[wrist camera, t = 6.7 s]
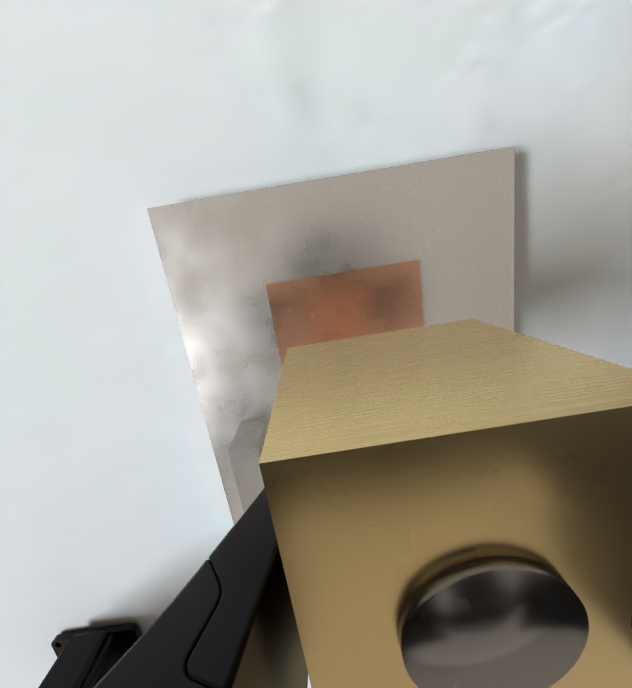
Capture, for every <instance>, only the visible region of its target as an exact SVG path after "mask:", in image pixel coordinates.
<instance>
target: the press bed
mask: <svg viewBox="0 0 632 688" xmlns="http://www.w3.org/2000/svg"><path fill="white" fill-rule="evenodd" d="M147 210H148V213H149V217H150V221H151V224H152V228H153V232H154V235H155V239H156V243H157V246H158V250H159V253H160V257H161V261H162V264H163V268H164V272H165V275H166V279H167V283H168V286H169V290H170V293H171V297H172V301H173V304H174V308H175V312H176V315H177V319H178V323H179V326H180V330H181V333H182V337H183V341H184V344H185V348H186V352H187V355H188V359H189V363H190V366H191V370H192V373H193V377H194V381H195V384H196V388H197V392H198V395H199V399H200V403H201V406H202V410H203V414H204V417H205V421H206V424H207V428H208V432H209V435H210V439H211V443H212V446H213V450H214V454H215V457H216V461H217V464H218V468H219V472H220V475H221V479H222V483H223V486H224V490H225V494H226V497H227V501H228V504H229V508H230V512H231V515H232V519H233V523H234V525H235V524H236V522H237V521H238V520H239V519H240V517H241V516H242V515H243V514H244V512H245V511H246V510H247V508H248V507H249V506H250V505H251V503H252V502H253V501H254V500H255V498H256V497H257V496H258V495H259V493H260V492H261V491H262V490H263V488H264V483H263V479H262V474H261V470H260V466H259V461H260V457H261V453H262V449H263V445H264V441H265V437H266V433H267V429H268V425H269V421H270V417H271V413H272V409H273V405H274V401H275V397H276V393H277V389H278V385H279V381H280V377H281V373H282V369H283V365H284V361H285V357H286V353H287V349H288V348H290V347H296V346H302V345H309V344H315V343H321V342H327V341H334V340H340V339H346V338H352V337H359V336H365V335H371V334H377V333H384V332H390V331H396V330H402V329H409V328H415V327H421V326H427V325H434V324H440V323H446V322H452V321H459V320H465V319H471V318H473V319H476V320H479V321H482V322H486V323H489V324H492V325H495V326H498V327H501V328H504V329H507V330H511V331H514V217H515V147H509V148H503V149H497V150H491V151H485V152H480V153H474V154H468V155H462V156H456V157H450V158H444V159H438V160H432V161H426V162H420V163H414V164H408V165H402V166H396V167H390V168H385V169H379V170H373V171H367V172H361V173H355V174H349V175H343V176H337V177H331V178H325V179H319V180H313V181H307V182H301V183H295V184H289V185H284V186H278V187H272V188H266V189H260V190H254V191H248V192H242V193H236V194H230V195H224V196H218V197H212V198H206V199H200V200H194V201H189V202H183V203H177V204H171V205H165V206H159V207H153V208H147Z"/></svg>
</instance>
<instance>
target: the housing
mask: <svg viewBox="0 0 632 688" xmlns="http://www.w3.org/2000/svg"><path fill="white" fill-rule="evenodd" d="M259 466H260V470H261V474H262V479H263V483H264V487H265V491H266V496H267V500H268V504H269V508H270V513H271V517H272V521H273V525H274V530H275V534H276V538H277V542H278V547H279V551H280V555H281V559H282V564H283V568H284V572H285V576H286V581H287V585H288V589H289V593H290V598H291V602H292V606H293V610H294V615H295V619H296V623H297V627H298V632H299V636H300V640H301V644H302V648H303V653H304V657H305V661H306V665H307V670H308V674H309V678H310V682H311V687H312V688H632V369H629V368H626V367H623V366H620V365H617V364H613V363H610V362H607V361H604V360H601V359H598V358H595V357H592V356H589V355H585V354H582V353H579V352H576V351H573V350H570V349H567V348H564V347H560V346H557V345H554V344H551V343H548V342H545V341H542V340H539V339H535V338H532V337H529V336H526V335H523V334H520V333H517V332H514V331H511V330H507V329H504V328H501V327H498V326H495V325H492V324H489V323H486V322H482V321H479V320H476V319H473V318H471V319H465V320H459V321H452V322H446V323H440V324H434V325H427V326H421V327H415V328H409V329H402V330H396V331H390V332H384V333H377V334H371V335H365V336H359V337H352V338H346V339H340V340H334V341H327V342H321V343H315V344H309V345H302V346H296V347H290V348H288V349H287V353H286V357H285V361H284V365H283V369H282V373H281V377H280V381H279V385H278V389H277V393H276V397H275V401H274V405H273V409H272V413H271V417H270V421H269V425H268V429H267V433H266V437H265V441H264V445H263V449H262V453H261V457H260V461H259Z"/></svg>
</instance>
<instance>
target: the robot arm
mask: <svg viewBox="0 0 632 688" xmlns="http://www.w3.org/2000/svg"><path fill="white" fill-rule="evenodd" d="M51 645H52V647H53V649H54V651H55V653H56V655H57V657H58V658H57V660H56V661H55V663H54V664H53V666H52V667H51V669H50V671H49V672H48V674H47V675H46V677H45V678H44V680H43V681H42V683H41V685H40V686H39V688H307V684H308V670H307V665H306V661H305V657H304V653H303V648H302V644H301V640H300V636H299V632H298V627H297V623H296V619H295V615H294V610H293V606H292V602H291V598H290V593H289V589H288V585H287V581H286V576H285V572H284V568H283V564H282V559H281V555H280V551H279V547H278V542H277V538H276V534H275V530H274V525H273V521H272V517H271V513H270V508H269V504H268V500H267V496H266V491H265V487H264V488H263V490H262V491H261V492H260V493H259V495H258V496H257V497H256V498H255V500H254V501H253V502H252V503H251V505H250V506H249V507H248V508H247V510H246V511H245V512H244V514H243V515H242V516H241V517H240V519H239V520H238V521H237V522H236V524H235V525H234V526H233V527H232V529H231V530H230V531H229V532H228V534H227V535H226V536H225V537H224V539H223V540H222V541H221V542H220V544H219V545H218V546H217V547H216V549H215V550H214V551H213V553H212V554H211V555H210V556H209V560H206V561H205V562H204V564H203V565H202V566H201V567H200V569H199V570H198V571H197V572H196V574H195V575H194V576H193V577H192V579H191V580H190V581H189V582H188V583H187V585H186V586H185V587H184V588H183V589H182V591H181V592H180V593H179V594H178V595H177V597H176V598H175V599H174V600H173V601H172V603H171V604H170V605H169V606H168V607H167V608H166V609H165V610H164V611H163V613H162V614H161V615H160V616H159V617H158V618H157V619H156V620H155V622H154V623H153V624H152V625H151V626H150V627H149V628H148V629H147V630H146V632H145V633H144V634H143V635H142V633H141V631H140V628H139V627H138V626H137V625H136V624H125V625H119V626H112V627H105V628H98V629H91V630H85V631H78V632H71V633H64V634H59V635H57V636H56V637H55V639H54V640H53V642H52V644H51Z"/></svg>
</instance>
